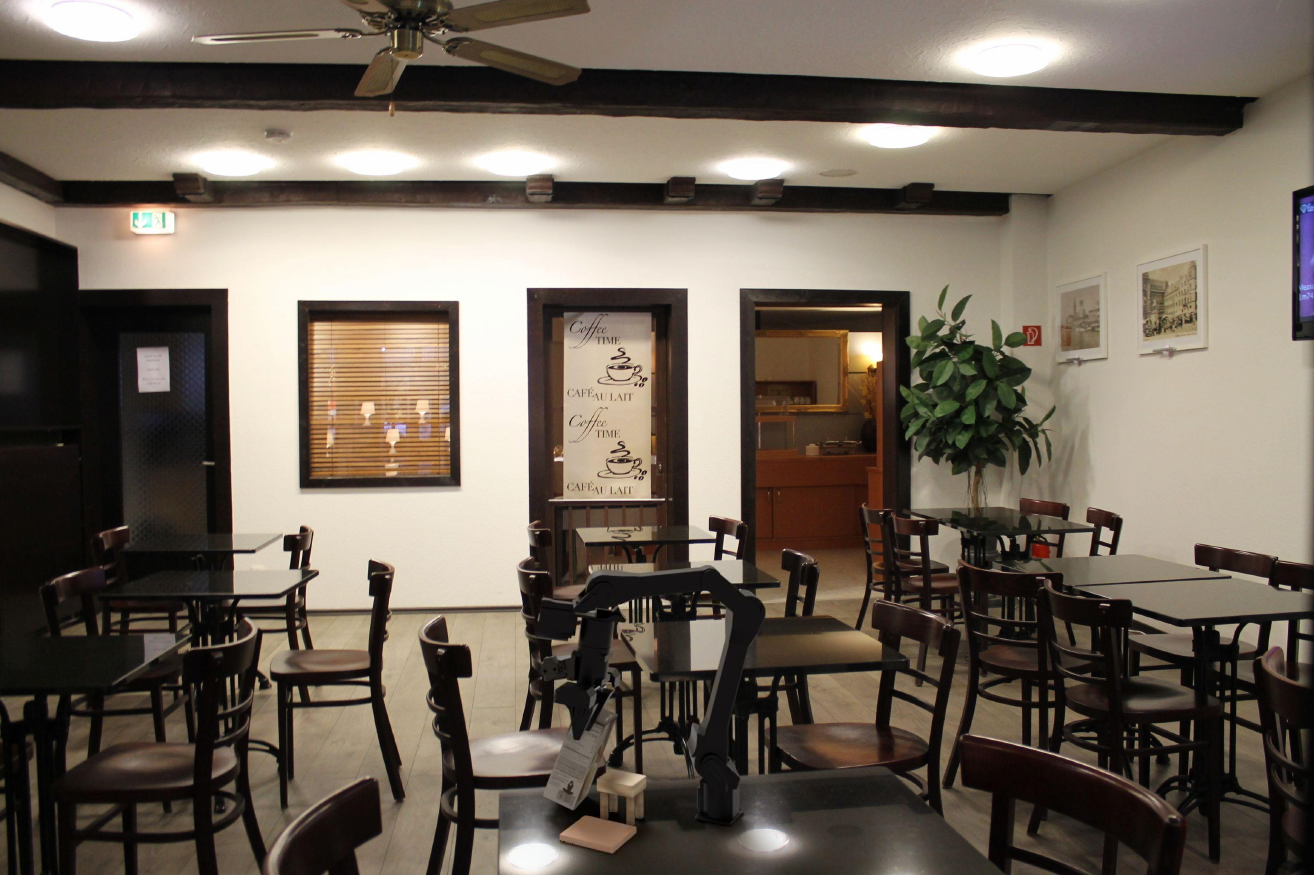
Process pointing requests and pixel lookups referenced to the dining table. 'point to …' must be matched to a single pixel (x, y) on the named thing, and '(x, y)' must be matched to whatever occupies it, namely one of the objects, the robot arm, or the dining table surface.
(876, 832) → the dining table surface
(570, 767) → the coffee box
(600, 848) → the terracotta tile
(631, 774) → the oak stool
